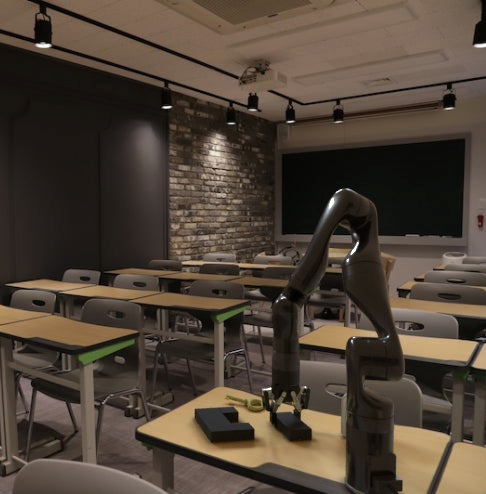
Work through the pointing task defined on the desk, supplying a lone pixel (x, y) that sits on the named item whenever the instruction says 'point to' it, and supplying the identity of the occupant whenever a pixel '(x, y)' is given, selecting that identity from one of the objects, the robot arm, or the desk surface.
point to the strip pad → (293, 427)
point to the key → (247, 402)
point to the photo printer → (343, 415)
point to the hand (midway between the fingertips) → (285, 423)
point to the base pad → (223, 424)
